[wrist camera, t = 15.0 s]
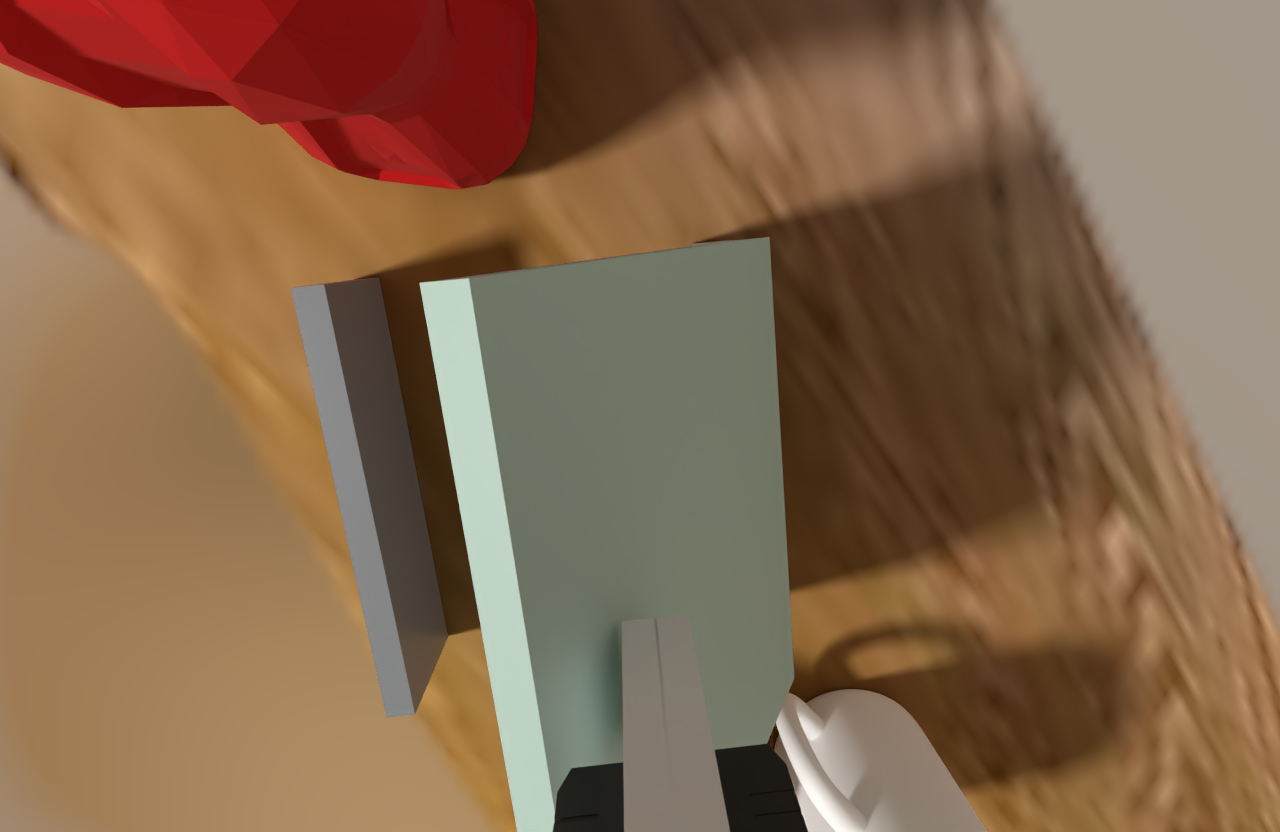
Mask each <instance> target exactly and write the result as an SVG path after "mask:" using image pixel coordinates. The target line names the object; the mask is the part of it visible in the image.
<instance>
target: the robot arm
mask: <svg viewBox="0 0 1280 832" xmlns="http://www.w3.org/2000/svg"><path fill="white" fill-rule="evenodd" d="M622 682H623V762H621V763H612V764H603V765H595V766H586V767H577V768H571V770H570V771H569V773H568V775H567V777H566V778H565V780H564V782H563V783H562V785H561V787H560V788H559V790H558V792H557V799H556V808H555V817H554V820H555V823H554V826H553V832H808V830H807V827H806V824H805V821H804V817H803V815H802V813H801V808H800V805H799V802H798V799H797V796H796V794H795V791H794V787H793V784H792V780H791V777H790V774H789V771H788V768H787V765H786V763H785V762H784V761H783V760H782V759H781V758H780V757H779V756H778V754H777V753H776V752H775V751H774V750H773V749H772V748H771V747H770V746H769V745H768V744H760V745H751V746H742V747H734V748H725V749H716V750H714V745H713V740H712V734H711V729H710V724H709V719H708V714H707V708H706V703H705V698H704V693H703V687H702V682H701V677H700V672H699V666H698V661H697V656H696V651H695V646H694V640H693V635H692V630H691V625H690V619H689V614H681V615H672V616H663V617H654V618H646V619H637V620H628V621H622Z"/></svg>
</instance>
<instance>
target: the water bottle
mask: <svg viewBox="0 0 1280 832" xmlns="http://www.w3.org/2000/svg"><path fill="white" fill-rule="evenodd" d="M537 46H538V31H537V15H536V10H535V5H534V1H533V0H0V63H2V64H4V65H7V66H9V67H11V68H13V69H15V70H18V71H20V72H22V73H24V74H27V75H29V76H32V77H35V78H38V79H41V80H44V81H47V82H49V83H52V84H55V85H58V86H61V87H64V88H67V89H70V90H72V91H75V92H78V93H81V94H84V95H87V96H90V97H92V98H95V99H98V100H101V101H104V102H107V103H110V104H113V105H115V106H118V107H121V108H134V107H189V106H234V107H235V108H237V109H238V110H240V111H241V112H243V113H244V114H246V115H247V116H249V117H250V118H252V119H253V120H255V121H256V122H258V123H259V124H261V125H263V124H274V123H278V124H279V125H280V126H281V127H282V128H283V129H284V130H285V131H286V132H287V133H288V134H289V135H290V136H291V137H292V138H293V139H294V140H295V141H296V142H298V143H299V144H300V145H301V146H302V147H303V148H304V149H305V150H306V151H307V152H308V153H309V154H310V155H311V156H312V157H314V158H316V159H318V160H320V161H322V162H324V163H326V164H328V165H330V166H332V167H334V168H336V169H338V170H341V171H343V172H346V173H350V174H354V175H358V176H362V177H367V178H371V179H375V180H381V181H390V182H398V183H407V184H415V185H424V186H432V187H441V188H450V189H463V188H469V187H474V186H479V185H485V184H488V183H490V182H491V181H492V180H494V179H495V178H496V177H498V176H499V175H500V174H502V173H503V172H504V171H505V170H507V169H508V168H509V167H511V166H512V165H513V163H514V162H515V160H516V159H517V157H518V156H519V154H520V153H521V151H522V150H523V148H524V147H525V145H526V142H527V138H528V134H529V131H530V127H531V123H532V119H533V105H534V90H535V75H536V61H537Z"/></svg>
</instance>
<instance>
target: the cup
mask: <svg viewBox="0 0 1280 832" xmlns="http://www.w3.org/2000/svg"><path fill="white" fill-rule="evenodd" d="M776 725H777V728H778V731H779V735H778V737H777V740H776V743H775V748H774V751H775V752H776V753H777V754H778V756H779V757H780V758H781V759H782V760H783V761H784V762H785V763H786V765H787V768H788V771H789V774H790V777H791V780H792V784H793V787H794V791H795V794H796V796H797V799H798V802H799V805H800V808H801V813H802V815H803V817H804V821H805V824H806V827H807V830H808V832H987V831H986V829H985V827H984V826H983V824H982V823H981V821H980V820H979V818H978V816H977V815H976V813H975V812H974V810H973V809H972V807H971V805H970V804H969V802H968V801H967V799H966V798H965V796H964V795H963V793H962V791H961V790H960V788H959V787H958V785H957V784H956V782H955V780H954V779H953V777H952V776H951V774H950V773H949V771H948V769H947V768H946V766H945V765H944V763H943V762H942V760H941V758H940V757H939V755H938V754H937V752H936V751H935V749H934V747H933V746H932V744H931V743H930V741H929V740H928V738H927V737H926V735H925V733H924V732H923V730H922V729H921V728H920V726H919V725H918V723H917V722H916V721H915V719H914V718H913V717H912V716H911V715H910V714H909V713H908V712H907V710H906V709H904V708H903V707H902V706H901V705H900V704H898V703H897V702H895V701H894V700H892V699H890V698H888V697H886V696H884V695H881V694H879V693H875V692H872V691H867V690H860V689H843V690H836V691H832V692H828V693H825V694H822V695H820V696H818V697H815V698H814V699H812V700H810V701H808V702H807V703H805V702H803V701H802V700H801V699H800V698H799V697H797V696H796V695H794V694H791V693H788V695H787V697H786V699H785V702H784V704H783V707H782V709H781V711H780V714H779V716H778V718H777V721H776Z"/></svg>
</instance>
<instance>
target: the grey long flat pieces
mask: <svg viewBox="0 0 1280 832" xmlns="http://www.w3.org/2000/svg"><path fill="white" fill-rule="evenodd" d="M728 241H736V240H725V241H713V242H703V243H694V244H692V246H698V245H706V244H713V243H721V242H728ZM291 291H292V296H293V300H294V305H295V309H296V314H297V318H298V323H299V327H300V332H301V336H302V341H303V345H304V349H305V354H306V358H307V363H308V367H309V372H310V376H311V381H312V385H313V390H314V394H315V399H316V403H317V408H318V412H319V417H320V421H321V426H322V430H323V435H324V439H325V443H326V448H327V452H328V457H329V461H330V466H331V470H332V475H333V479H334V484H335V488H336V493H337V497H338V502H339V506H340V511H341V515H342V520H343V524H344V529H345V533H346V538H347V542H348V546H349V551H350V555H351V560H352V564H353V569H354V573H355V578H356V582H357V587H358V591H359V596H360V600H361V605H362V609H363V614H364V618H365V623H366V627H367V632H368V636H369V640H370V645H371V649H372V654H373V658H374V663H375V667H376V672H377V676H378V681H379V685H380V690H381V694H382V699H383V703H384V708H385V711H386V717H395V716H404V715H413V714H415V713H416V711H417V708H418V706H419V704H420V701H421V699H422V697H423V694H424V692H425V690H426V687H427V685H428V682H429V680H430V678H431V675H432V673H433V671H434V668H435V666H436V664H437V661H438V659H439V657H440V654H441V652H442V650H443V647H444V645H445V643H446V640H447V638H448V633H447V628H446V623H445V618H444V612H443V607H442V602H441V597H440V592H439V586H438V581H437V576H436V571H435V565H434V560H433V555H432V550H431V545H430V539H429V534H428V529H427V524H426V519H425V513H424V508H423V503H422V498H421V493H420V487H419V482H418V477H417V472H416V467H415V461H414V456H413V451H412V446H411V440H410V435H409V430H408V425H407V420H406V414H405V409H404V404H403V399H402V394H401V388H400V383H399V378H398V373H397V368H396V362H395V357H394V352H393V347H392V342H391V336H390V331H389V326H388V321H387V315H386V310H385V305H384V300H383V295H382V289H381V284H380V279H379V277H377V278H367V279H358V280H349V281H341V282H334V283H326V284H318V285H310V286H302V287H295V288H291Z"/></svg>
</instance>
